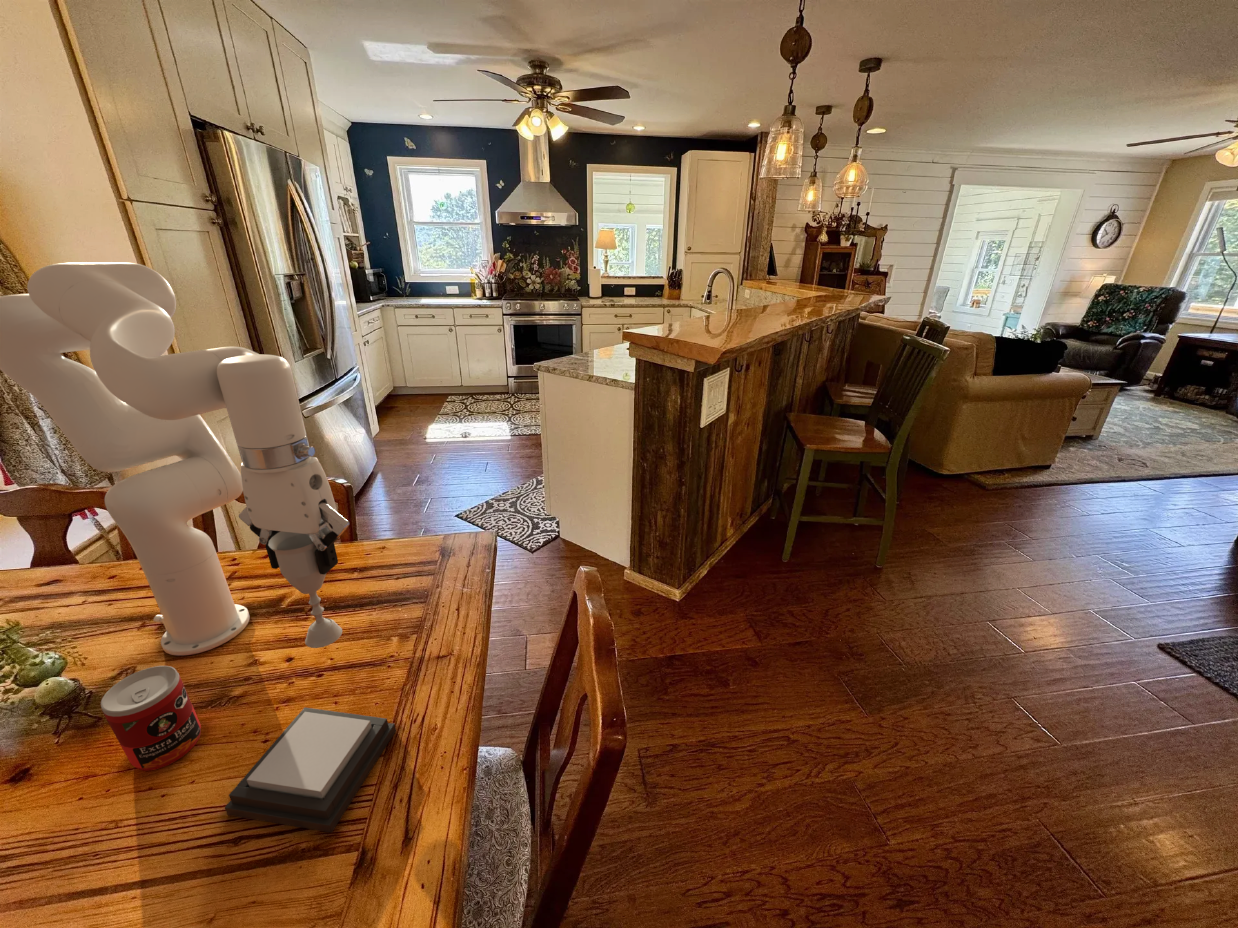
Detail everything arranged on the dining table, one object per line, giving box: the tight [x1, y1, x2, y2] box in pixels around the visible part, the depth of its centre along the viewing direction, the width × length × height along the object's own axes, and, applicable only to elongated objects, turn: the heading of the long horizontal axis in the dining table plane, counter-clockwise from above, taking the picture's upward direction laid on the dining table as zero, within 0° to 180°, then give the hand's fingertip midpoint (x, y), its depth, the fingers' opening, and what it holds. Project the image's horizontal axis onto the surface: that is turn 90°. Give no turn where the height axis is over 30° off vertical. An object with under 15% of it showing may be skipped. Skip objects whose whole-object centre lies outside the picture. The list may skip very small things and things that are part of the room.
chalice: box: [268, 530, 343, 649], centre depth 73 cm, size 7×7×18 cm
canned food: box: [100, 665, 202, 772], centre depth 67 cm, size 8×8×11 cm
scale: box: [224, 706, 397, 834], centre depth 66 cm, size 14×14×3 cm
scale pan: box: [247, 712, 372, 800], centre depth 65 cm, size 10×10×2 cm
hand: (305, 565), depth 71 cm, fingers closed on chalice, 6 cm apart
